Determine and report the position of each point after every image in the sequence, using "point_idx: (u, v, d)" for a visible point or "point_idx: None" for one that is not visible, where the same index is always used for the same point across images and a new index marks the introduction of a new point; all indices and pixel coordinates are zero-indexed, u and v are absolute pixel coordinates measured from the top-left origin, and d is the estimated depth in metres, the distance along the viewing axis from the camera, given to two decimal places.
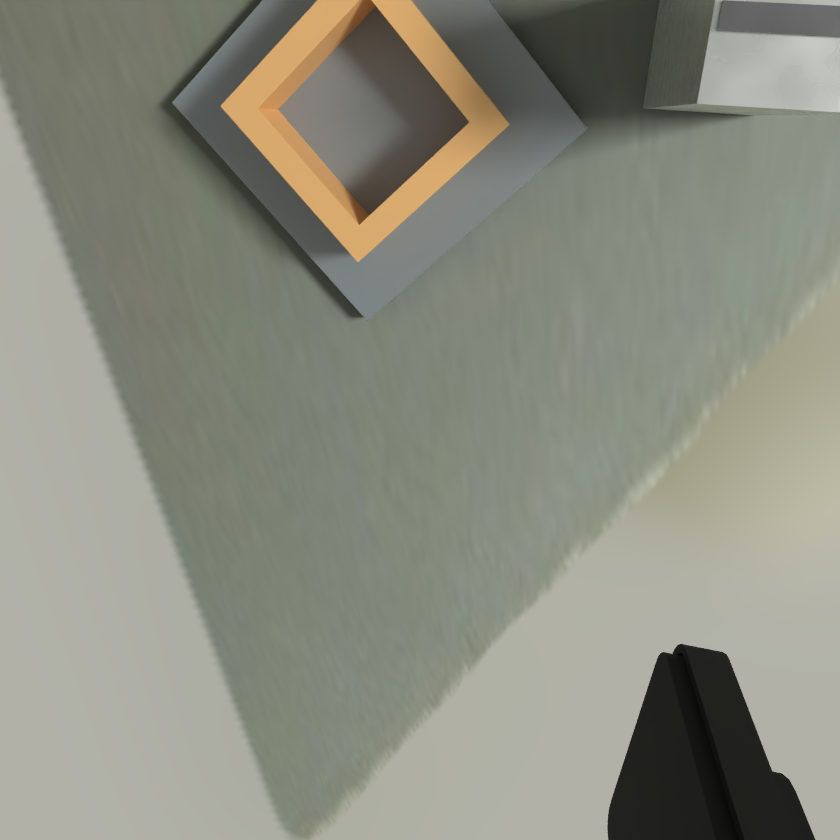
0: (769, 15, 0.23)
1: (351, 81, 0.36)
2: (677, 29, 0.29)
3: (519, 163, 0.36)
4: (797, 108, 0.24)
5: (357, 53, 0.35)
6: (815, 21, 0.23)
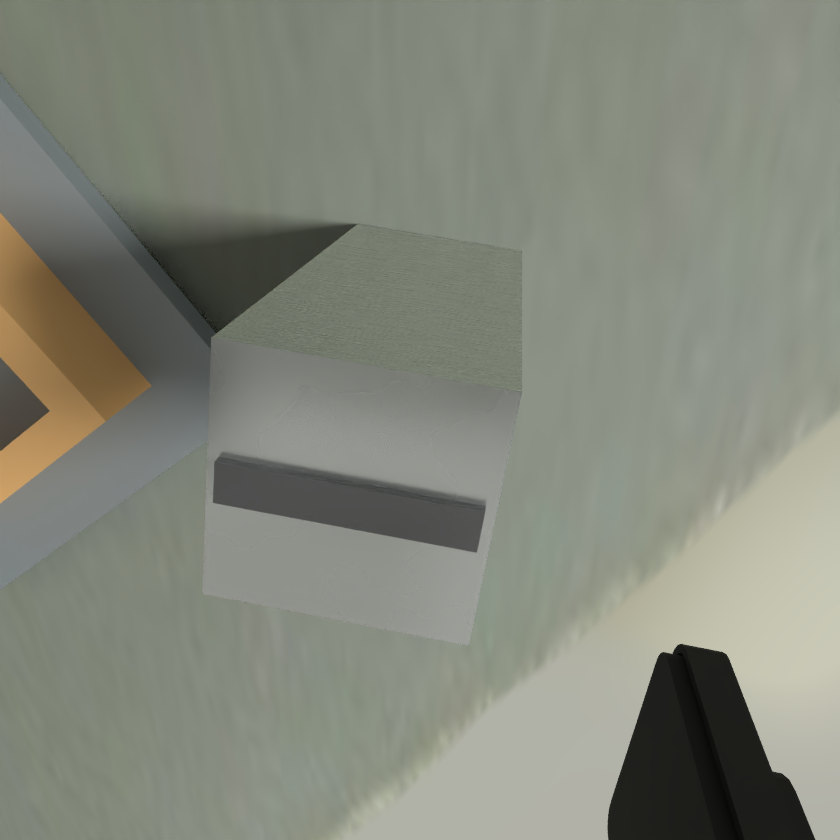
0: (301, 488, 0.13)
1: None
2: None
3: (169, 435, 0.26)
4: (364, 624, 0.14)
5: None
6: (378, 508, 0.13)
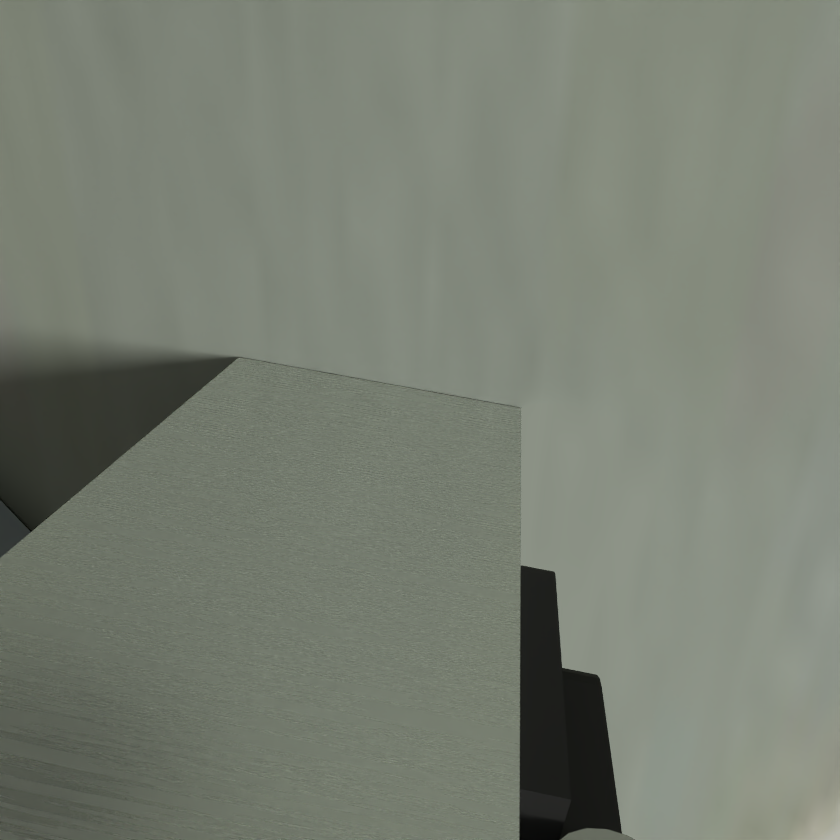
0: None
1: None
2: None
3: None
4: None
5: None
6: None
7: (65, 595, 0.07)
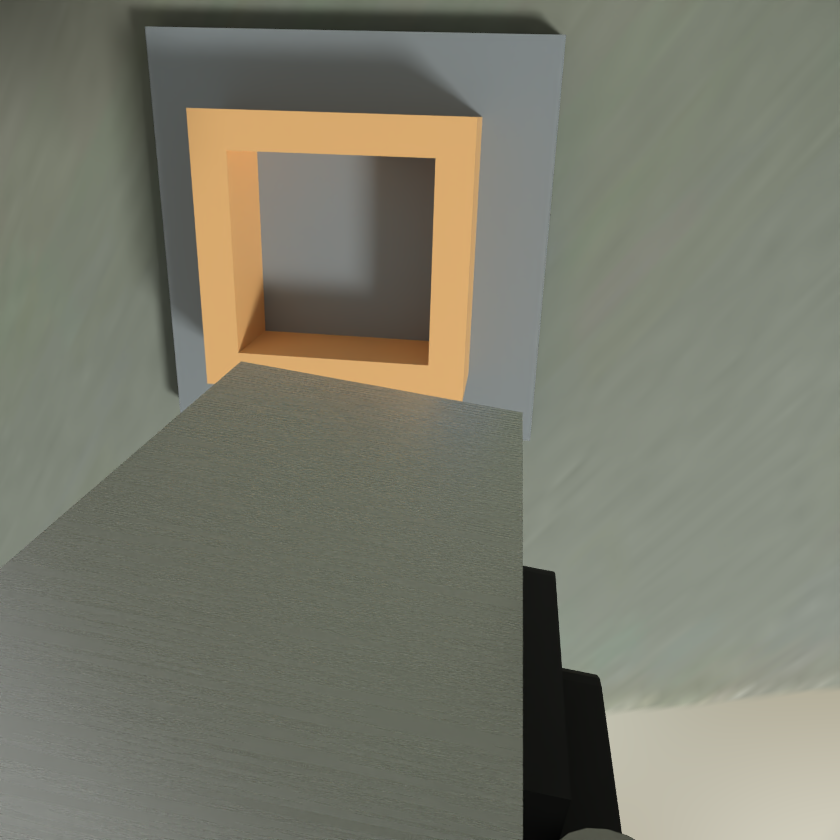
0: None
1: (355, 195, 0.27)
2: None
3: None
4: None
5: (384, 177, 0.27)
6: None
7: (69, 602, 0.07)
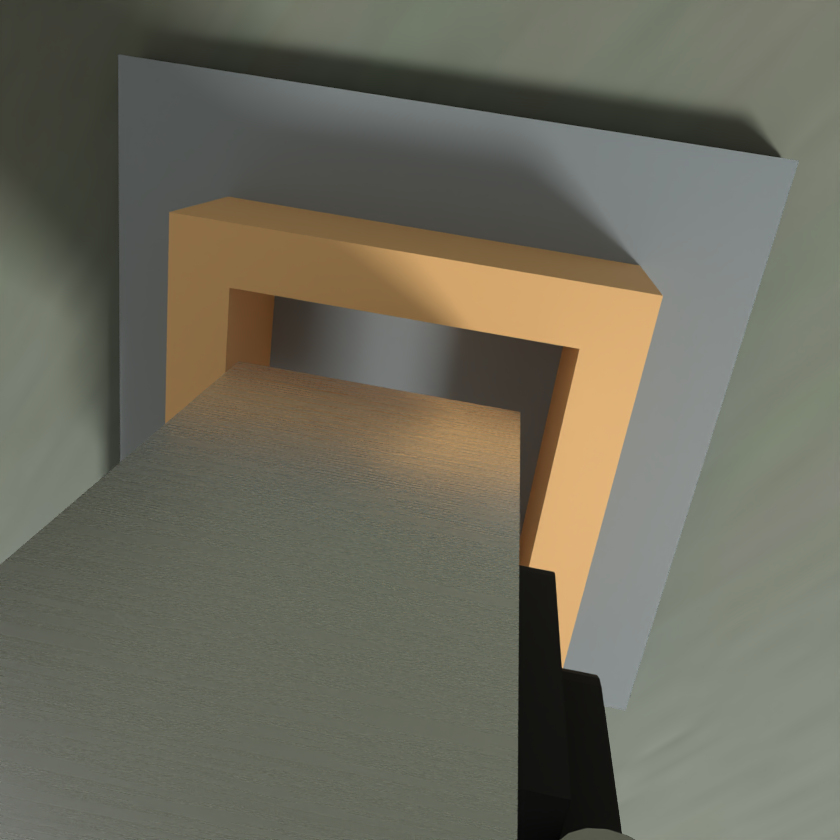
0: None
1: (422, 351, 0.18)
2: None
3: None
4: None
5: (469, 330, 0.17)
6: None
7: (65, 602, 0.07)
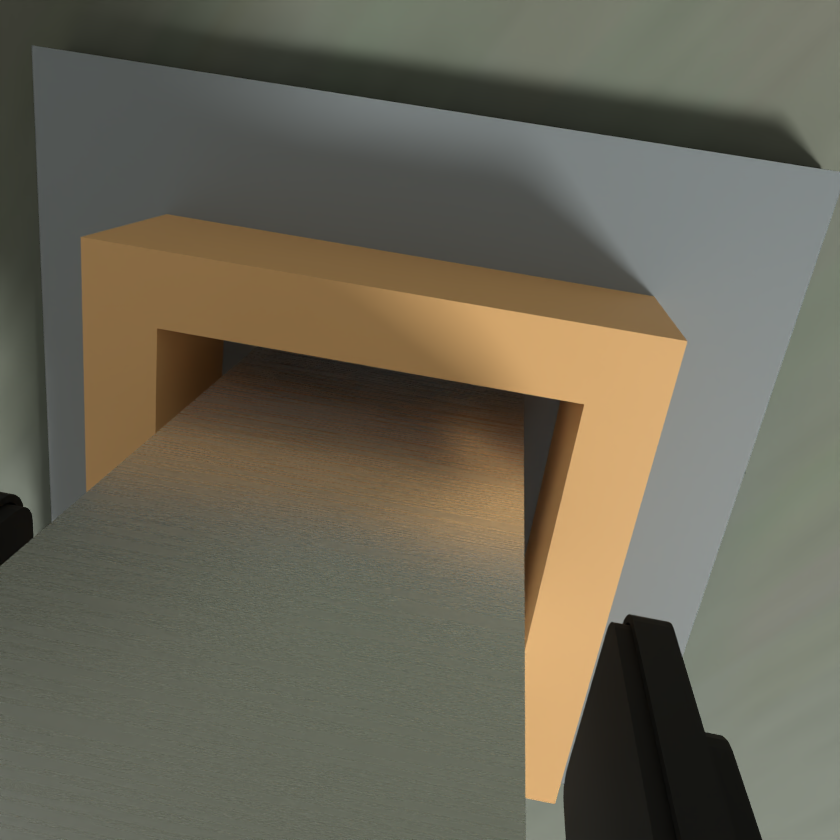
0: None
1: None
2: None
3: None
4: None
5: None
6: None
7: (142, 521, 0.08)
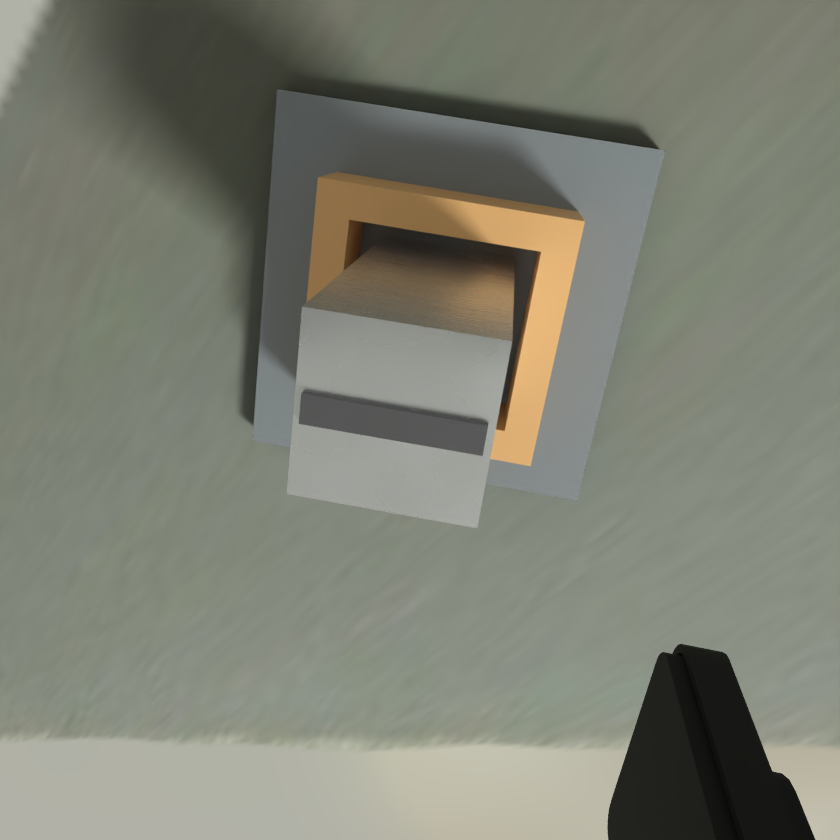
0: (360, 413, 0.19)
1: None
2: None
3: (504, 467, 0.32)
4: (403, 514, 0.20)
5: None
6: (414, 426, 0.19)
7: (373, 273, 0.23)
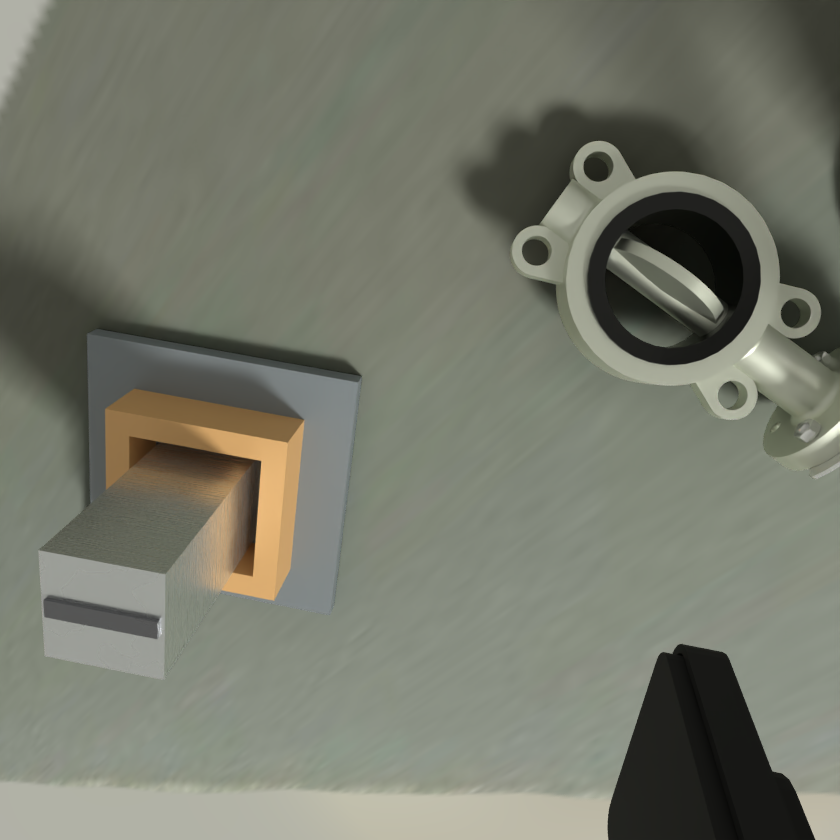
0: (82, 610, 0.30)
1: None
2: None
3: None
4: (117, 670, 0.31)
5: None
6: (116, 619, 0.30)
7: (122, 495, 0.34)
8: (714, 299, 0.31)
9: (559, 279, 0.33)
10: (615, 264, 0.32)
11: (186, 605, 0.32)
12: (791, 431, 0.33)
